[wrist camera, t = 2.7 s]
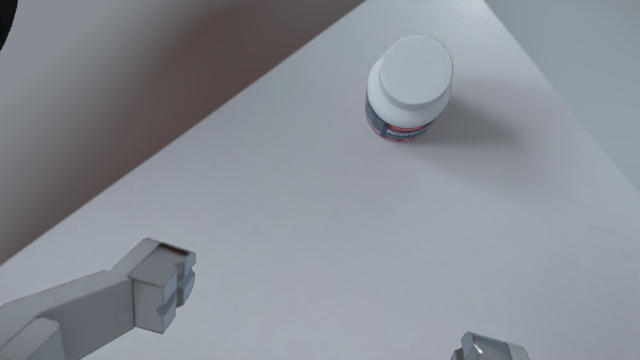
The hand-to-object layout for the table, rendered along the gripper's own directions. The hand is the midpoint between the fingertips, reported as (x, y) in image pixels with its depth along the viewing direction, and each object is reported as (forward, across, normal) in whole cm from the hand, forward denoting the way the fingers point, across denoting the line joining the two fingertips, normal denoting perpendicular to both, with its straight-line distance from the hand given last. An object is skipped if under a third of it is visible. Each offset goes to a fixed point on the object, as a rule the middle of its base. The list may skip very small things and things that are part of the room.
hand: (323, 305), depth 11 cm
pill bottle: (+21, -2, -1) cm, 21 cm away
